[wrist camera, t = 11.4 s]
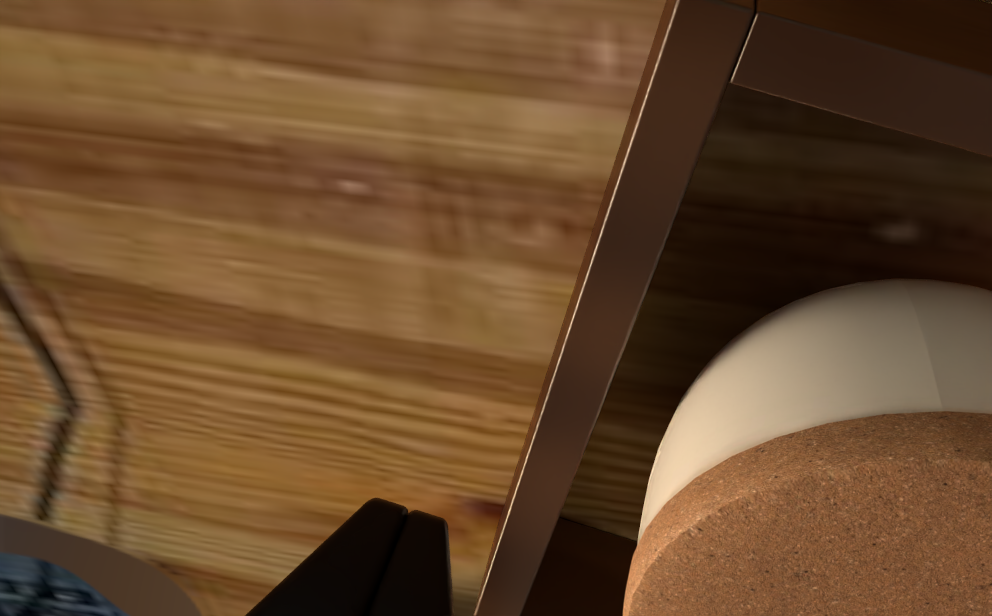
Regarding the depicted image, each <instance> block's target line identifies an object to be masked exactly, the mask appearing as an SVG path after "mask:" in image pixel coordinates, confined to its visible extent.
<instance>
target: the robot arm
mask: <svg viewBox="0 0 992 616" xmlns="http://www.w3.org/2000/svg"><path fill="white" fill-rule="evenodd" d="M245 616H454V609H453V594H452V579H451V564H450V549H449V534H448V525H447V522H446V521H445V520H444V519H443V518H441V517H438V516H434V515H431V514H428V513H425V512H422V511H418V510H414V511H411V512H410V513H409V514H408V509H407V508H406V507H404V506H402V505H399V504H396V503H393V502H390V501H387V500H383V499H380V498H373V499H371V500H369V501H368V502H366V503H365V504H364V505H363V506H362V507H361V508H360V509H359V510H358V511H356V512H355V513H354V514H353V515H352V516H351V517H350V518H349V519H348V520H347V521H346V522H345V523H344V524H343V525H342V526H340V527H339V528H338V529H337V530H336V531H335V532H334V533H333V534H332V535H331V536H330V537H329V538H328V539H327V540H325V541H324V542H323V543H322V544H321V545H320V546H319V547H318V548H317V549H316V550H315V551H314V552H313V553H312V554H311V555H309V556H308V557H307V558H306V559H305V560H304V561H303V562H302V563H301V564H300V565H299V566H298V567H297V568H296V569H294V570H293V571H292V572H291V573H290V574H289V575H288V576H287V577H286V578H285V579H284V580H283V581H282V582H281V583H280V584H278V585H277V586H276V587H275V588H274V589H273V590H272V591H271V592H270V593H269V594H268V595H267V596H266V597H265V598H263V599H262V600H261V601H260V602H259V603H258V604H257V605H256V606H255V607H254V608H253V609H252V610H251V611H250V612H249V613H247V614H246V615H245Z"/></svg>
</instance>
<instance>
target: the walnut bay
mask: <svg viewBox="0 0 992 616" xmlns="http://www.w3.org/2000/svg"><path fill="white" fill-rule="evenodd" d="M729 80H730V83H732V84H734V85H738V86H741V87H745V88H748V89H752V90H756V91H759V92H763V93H766V94H770V95H773V96H777V97H780V98H784V99H787V100H791V101H795V102H798V103H802V104H805V105H809V106H812V107H816V108H819V109H823V110H827V111H830V112H834V113H837V114H841V115H844V116H848V117H851V118H855V119H858V120H862V121H866V122H869V123H873V124H876V125H880V126H883V127H887V128H890V129H894V130H897V131H901V132H905V133H908V134H912V135H915V136H919V137H922V138H926V139H929V140H933V141H936V142H940V143H944V144H947V145H951V146H954V147H958V148H961V149H965V150H968V151H972V152H975V153H979V154H983V155H986V156H990V157H992V4H988V3H985V2H981V1H978V0H667V1H666V4H665V7H664V10H663V14H662V17H661V20H660V23H659V26H658V29H657V32H656V35H655V38H654V41H653V45H652V48H651V51H650V54H649V57H648V60H647V63H646V66H645V69H644V73H643V76H642V79H641V82H640V85H639V88H638V91H637V94H636V97H635V101H634V104H633V107H632V110H631V113H630V116H629V119H628V122H627V125H626V129H625V132H624V135H623V138H622V141H621V144H620V147H619V150H618V153H617V157H616V160H615V163H614V166H613V169H612V172H611V175H610V178H609V181H608V185H607V188H606V191H605V194H604V197H603V200H602V203H601V206H600V209H599V212H598V216H597V219H596V222H595V225H594V228H593V231H592V234H591V237H590V240H589V244H588V247H587V250H586V253H585V256H584V259H583V262H582V265H581V268H580V272H579V275H578V278H577V281H576V284H575V287H574V290H573V293H572V296H571V300H570V303H569V306H568V309H567V312H566V315H565V318H564V321H563V324H562V328H561V331H560V334H559V337H558V340H557V343H556V346H555V349H554V352H553V356H552V359H551V362H550V365H549V368H548V371H547V374H546V377H545V380H544V383H543V387H542V390H541V393H540V396H539V399H538V402H537V405H536V408H535V411H534V415H533V418H532V421H531V424H530V427H529V430H528V433H527V436H526V439H525V443H524V446H523V449H522V452H521V455H520V458H519V461H518V464H517V467H516V471H515V474H514V477H513V480H512V483H511V486H510V489H509V492H508V495H507V499H506V502H505V505H504V508H503V511H502V514H501V517H500V520H499V523H498V527H497V530H496V534H495V538H494V541H493V545H492V548H491V552H490V556H489V559H488V563H487V566H486V570H485V573H484V577H483V581H482V584H481V588H480V591H479V595H478V599H477V602H476V606H475V609H474V613H473V616H623V606H624V598H625V591H626V586H627V581H628V576H629V571H630V566H631V561H632V557H633V554H634V552H635V550H636V548H637V543H638V542H635V541H632V540H628V539H625V538H622V537H619V536H616V535H612V534H609V533H606V532H603V531H600V530H596V529H593V528H590V527H587V526H583V525H580V524H577V523H574V522H571V521H567V520H564V519H561V518H559V516H560V514H561V511H562V509H563V506H564V503H565V501H566V498H567V496H568V493H569V491H570V488H571V485H572V483H573V480H574V478H575V475H576V473H577V470H578V467H579V465H580V462H581V460H582V457H583V455H584V452H585V449H586V447H587V444H588V442H589V439H590V437H591V434H592V432H593V429H594V426H595V424H596V421H597V419H598V416H599V414H600V411H601V408H602V406H603V403H604V401H605V398H606V396H607V393H608V390H609V388H610V385H611V383H612V380H613V378H614V375H615V372H616V370H617V367H618V365H619V362H620V360H621V357H622V354H623V352H624V349H625V347H626V344H627V342H628V339H629V337H630V334H631V331H632V329H633V326H634V324H635V321H636V319H637V316H638V313H639V311H640V308H641V306H642V303H643V301H644V298H645V295H646V293H647V290H648V288H649V285H650V283H651V280H652V277H653V275H654V272H655V270H656V267H657V265H658V262H659V259H660V257H661V254H662V252H663V249H664V247H665V244H666V241H667V239H668V236H669V234H670V231H671V229H672V226H673V224H674V221H675V218H676V216H677V213H678V211H679V208H680V206H681V203H682V200H683V198H684V195H685V193H686V190H687V188H688V185H689V182H690V180H691V177H692V175H693V172H694V170H695V167H696V164H697V162H698V159H699V157H700V154H701V152H702V149H703V146H704V144H705V141H706V139H707V136H708V134H709V131H710V129H711V126H712V123H713V121H714V118H715V116H716V113H717V111H718V108H719V105H720V103H721V100H722V98H723V95H724V93H725V90H726V87H727V85H728V82H729Z"/></svg>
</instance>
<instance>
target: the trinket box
mask: <svg viewBox="0 0 992 616" xmlns="http://www.w3.org/2000/svg"><path fill="white" fill-rule="evenodd" d="M623 616H992V291H990V290H986V289H983V288H979V287H975V286H970V285H966V284H959V283H952V282H946V281H939V280H932V279H887V280H876V281H866V282H858V283H854V284H849V285H844V286H840V287H835V288H831V289H826V290H823V291H821V292H818V293H815V294H812V295H809V296H806V297H803V298H801V299H798V300H795V301H793V302H791V303H789V304H787V305H785V306H783V307H781V308H779V309H777V310H775V311H773V312H771V313H769V314H767V315H766V316H764V317H763V318H761V319H760V320H758V321H757V322H755V323H754V324H752V325H751V326H750V327H748V328H747V329H745V330H744V331H742V332H741V333H740V334H738V335H737V336H735V337H734V338H732V339H731V340H730V341H729V342H728V343H727V344H726V345H725V346H724V347H723V348H722V349H721V350H720V351H719V352H718V353H717V354H716V355H715V356H714V357H713V358H712V359H711V360H710V361H709V362H708V363H707V365H706V366H705V367H704V368H703V370H702V371H701V372H700V373H699V375H698V376H697V377H696V379H695V380H694V381H693V383H692V384H691V386H690V387H689V388H688V390H687V391H686V393H685V394H684V395H683V397H682V398H681V400H680V402H679V405H678V407H677V409H676V411H675V413H674V415H673V418H672V420H671V422H670V424H669V426H668V428H667V431H666V433H665V435H664V437H663V439H662V442H661V444H660V446H659V448H658V451H657V455H656V458H655V461H654V465H653V468H652V471H651V475H650V478H649V482H648V487H647V492H646V497H645V502H644V507H643V513H642V518H641V524H640V530H639V535H638V543H637V548H636V550H635V552H634V554H633V557H632V561H631V566H630V571H629V576H628V581H627V586H626V591H625V598H624V606H623Z"/></svg>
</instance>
